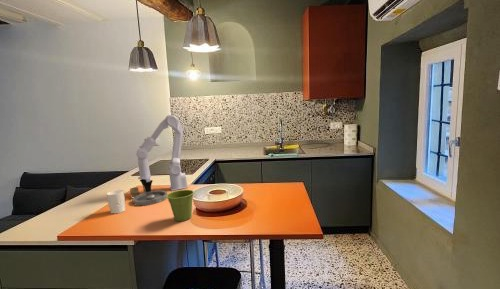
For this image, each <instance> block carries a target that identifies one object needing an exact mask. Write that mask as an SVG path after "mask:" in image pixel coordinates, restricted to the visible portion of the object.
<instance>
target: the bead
mask: <svg viewBox="0 0 500 289" xmlns="http://www.w3.org/2000/svg"><path fill="white" fill-rule="evenodd" d="M139 190H140V189H139V187H138V186H136V187H131V188H130V189H129V191H130V193H129V194H130V198H131V197H135V196H137V195H139V194H140V191H139Z"/></svg>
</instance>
